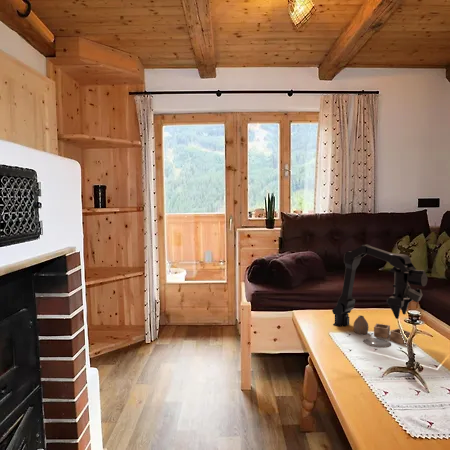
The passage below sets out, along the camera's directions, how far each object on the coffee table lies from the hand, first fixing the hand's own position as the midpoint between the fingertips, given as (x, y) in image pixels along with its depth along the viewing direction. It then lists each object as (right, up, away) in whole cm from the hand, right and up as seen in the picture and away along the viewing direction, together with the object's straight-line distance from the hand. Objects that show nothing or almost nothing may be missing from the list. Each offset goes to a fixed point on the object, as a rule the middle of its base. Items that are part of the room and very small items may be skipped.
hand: (400, 316), depth 174 cm
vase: (-14, -12, +12) cm, 22 cm away
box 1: (-5, -12, +8) cm, 15 cm away
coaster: (-11, -12, -1) cm, 17 cm away
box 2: (0, -12, +1) cm, 12 cm away
